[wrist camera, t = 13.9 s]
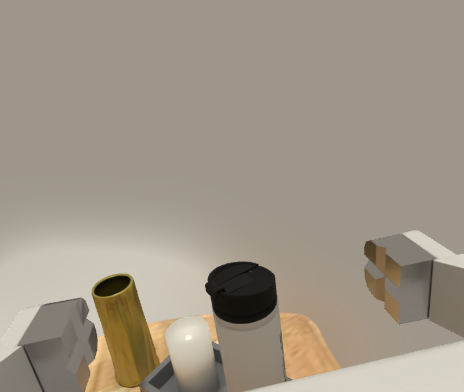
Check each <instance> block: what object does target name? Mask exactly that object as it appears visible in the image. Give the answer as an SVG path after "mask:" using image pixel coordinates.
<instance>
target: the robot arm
mask: <svg viewBox="0 0 464 392" xmlns="http://www.w3.org/2000/svg"><path fill="white" fill-rule="evenodd" d="M364 255H365V256H366V257H367V258H368V259H369V261H368V263H367V264H366V266H365V269H364V270H365V280H366V283H367V287H368V288H369V290H370V292H371V293H372V294H373V296H374V297H375V298H376V299H378V300H381V301H383V302H385V309H386V311H387V312H388V313H389V314H390V315H391V316H392V317H393V318H394V320H395V321H396V322H397V323H398V324H403V323H408V322H413V321H419V320H423V319H429V320H430V321H432V322H434V323H436V324H438V325H440V326H442V327H444V328H446V329H448V330H450V331H452V332H454V333H456V334H458V335H460V336H462V337H464V254H460V255H456V254H454V253H453V252H451V251H449V250H448V249H446V248H445V247H443V246H442V245H440V244H439V243H437V242H435V241H434V240H432V239H431V238H429V237H428V236H426V235H424V234H423V233H421V232H419V231H414V230H413V231H409V232H406V233H401V234H397V235H393V236H388V237H384V238H379V239H375V240H370V241H367V242H366V243H365V247H364ZM88 312H89V309H88V306H87V303H86V301H85V300H84V299H83V298H77V299H71V300H65V301H60V302H54V303H48V304H44V305H43V304H42V305H37V306H32V307H28V308H25V309H22V310H21V311H20V313H19V314H18V316H17V317H16V319H15V320H14V321H13V323H12V324H11V326H10V327H9V329H8V330H7V332H6V333H5V334H4V336H3V338H2V339H1V340H0V392H85V389H86V386H87V383H88V379H89V376H90V370H89V367H88V365H89V364H90V363H91V362H92V361H93V360H94V359H95V356H96V352H97V340H98V339H97V333H96V329H95V326H94V323H92V322H91V321H89V320H88V319H86V317H87V314H88ZM244 392H464V340H463V341H459V342H455V343H450V344H447V345H442V346H438V347H434V348H429V349H425V350H420V351H416V352H412V353H407V354H403V355H399V356H395V357H390V358H386V359H382V360H377V361H373V362H369V363H365V364H360V365H356V366H351V367H347V368H343V369H338V370H334V371H330V372H326V373H321V374H317V375H313V376H308V377H304V378H300V379H296V380H291V381H287V382H283V383H278V384H274V385H270V386H265V387H261V388H257V389H253V390H248V391H244Z"/></svg>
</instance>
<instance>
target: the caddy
mask: <svg viewBox="0 0 464 392" xmlns="http://www.w3.org/2000/svg"><path fill="white" fill-rule="evenodd" d="M211 342H212V341H211ZM212 347H213V352H214V356H215V361H216V366H217V371H218V376H219V381H220V387H219V390H218V392H228V389H227V384H226V379H225V373H224V368H223V363H222V358H221V352H220V347H219V345H218V344H216V343H214V342H212ZM286 380H287V381H291V380H292V379H290V378H288V377H286ZM139 387H140V390H141V392H179V389H178V386H177V382H176V378H175V374H174V370H173V366H172V362H171V359H170V355H169V356H168V357H167V358H166V359H165V360H164V361H163V362H162V363H161V364H160V365H159V366H158V367H157V368H156V369H155V370H154V371H152V372H151V373H150V374H149V375H148V376H147V377H146V378H145V379H144V380H143V381H142V382H141V383H140V384H139Z"/></svg>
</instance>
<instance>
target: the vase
mask: <svg viewBox="0 0 464 392" xmlns="http://www.w3.org/2000/svg"><path fill="white" fill-rule="evenodd" d="M92 296H93V299H94V302H95V306H96V309H97V312H98V315H99V318H100V321H101V324H102V328H103V331H104V335H105V338H106V342H107V345H108V349H109V352H110V355H111V358H112V361H113V365H114V369H115V375H116V380H117V381H118V383H119V384H121V385H123V386H126V387H133V386H138V385H139V384H140V383H141V382H142V381H143V380H144V379H145V378H146V377H147V376H148V375H149V374H150V373H151V372H152V371H154V370H155V369H156V368H157V367H158V366H159V358H158V356H157V355H156V351H155V348H154V344H153V341H152V337H151V334H150V331H149V328H148V325H147V322H146V319H145V316H144V313H143V310H142V307H141V303H140V300H139V297H138V294H137V290H136V286H135V283H134V280H133V278H132V276H130V275H129V274H115V275H111V276H108V277H106V278H103V279H102V280H100V281H99V282H98V283H96V284H95V286H94V287H93V289H92Z"/></svg>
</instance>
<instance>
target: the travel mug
mask: <svg viewBox="0 0 464 392" xmlns="http://www.w3.org/2000/svg"><path fill="white" fill-rule="evenodd" d="M205 288H206V292H207V293H208V294H209V295H210V296H211V301H212V310H213V315H214V321H215V326H216V331H217V337H218V342H219V347H220V352H221V358H222V363H223V368H224V373H225V379H226V384H227V389H228V392H244V391H248V390H253V389H257V388H261V387H265V386H270V385H274V384H278V383H283V382H287V380H286V370H285V361H284V352H283V342H282V333H281V324H280V314H279V306H278V296H277V292H276V283H275V275H274V274H273V273H272V272H271V271H269V270H268V269H266V268H264V267H262V266H258V264H256V263H252V262H233V263H227V264H225V265H221V266H219V267H217V268H216V269H214V270H213V271H212V272H211V273H210V274H209V276H208V283H206V284H205Z"/></svg>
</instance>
